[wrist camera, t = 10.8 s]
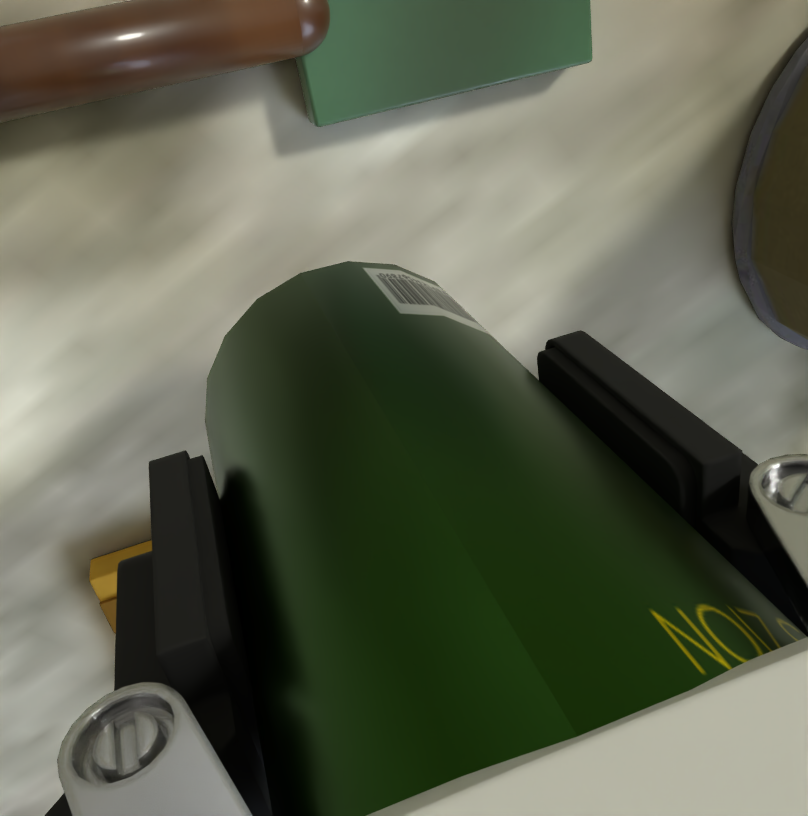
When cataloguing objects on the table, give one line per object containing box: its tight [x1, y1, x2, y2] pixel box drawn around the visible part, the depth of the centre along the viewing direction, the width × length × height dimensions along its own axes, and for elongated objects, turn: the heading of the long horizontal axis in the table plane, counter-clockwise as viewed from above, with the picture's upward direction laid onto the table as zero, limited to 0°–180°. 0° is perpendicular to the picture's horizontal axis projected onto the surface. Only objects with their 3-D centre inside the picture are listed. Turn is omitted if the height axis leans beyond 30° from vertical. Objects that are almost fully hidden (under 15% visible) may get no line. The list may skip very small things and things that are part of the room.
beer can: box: [205, 261, 807, 816], centre depth 10 cm, size 5×5×12 cm
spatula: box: [0, 0, 592, 127], centre depth 13 cm, size 17×4×1 cm, turn 100°
